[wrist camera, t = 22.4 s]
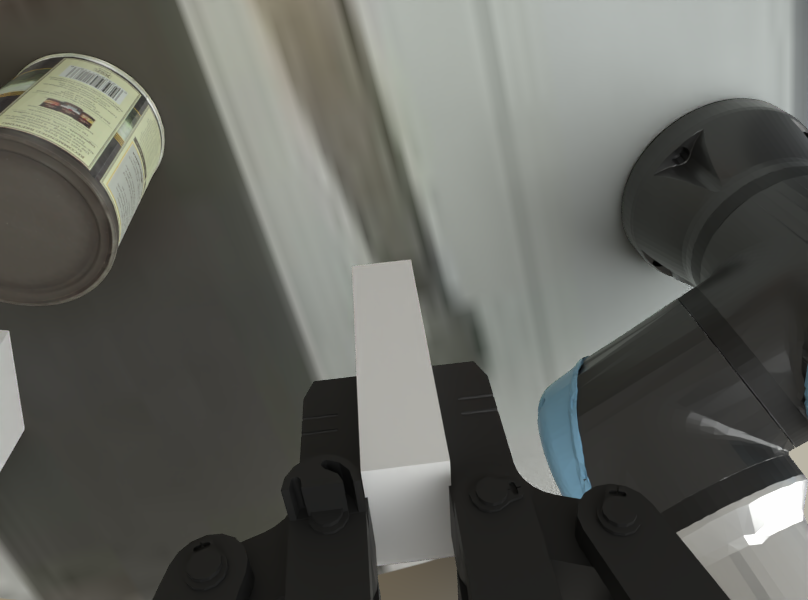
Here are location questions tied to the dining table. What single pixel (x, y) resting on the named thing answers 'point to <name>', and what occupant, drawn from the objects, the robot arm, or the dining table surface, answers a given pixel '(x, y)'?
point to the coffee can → (70, 174)
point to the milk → (8, 400)
